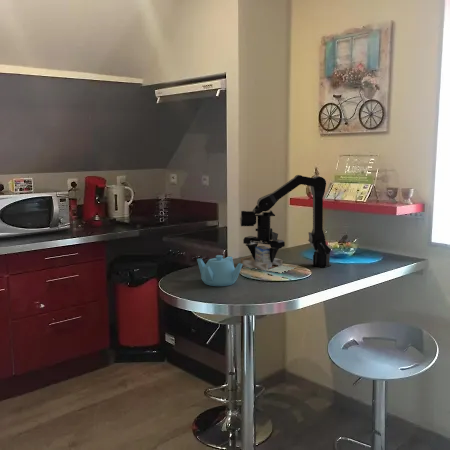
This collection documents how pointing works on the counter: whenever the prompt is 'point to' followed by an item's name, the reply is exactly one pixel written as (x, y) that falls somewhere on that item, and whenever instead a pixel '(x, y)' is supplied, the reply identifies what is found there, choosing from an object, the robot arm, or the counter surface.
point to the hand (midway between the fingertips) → (263, 261)
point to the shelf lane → (259, 263)
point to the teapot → (219, 271)
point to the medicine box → (263, 255)
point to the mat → (281, 269)
